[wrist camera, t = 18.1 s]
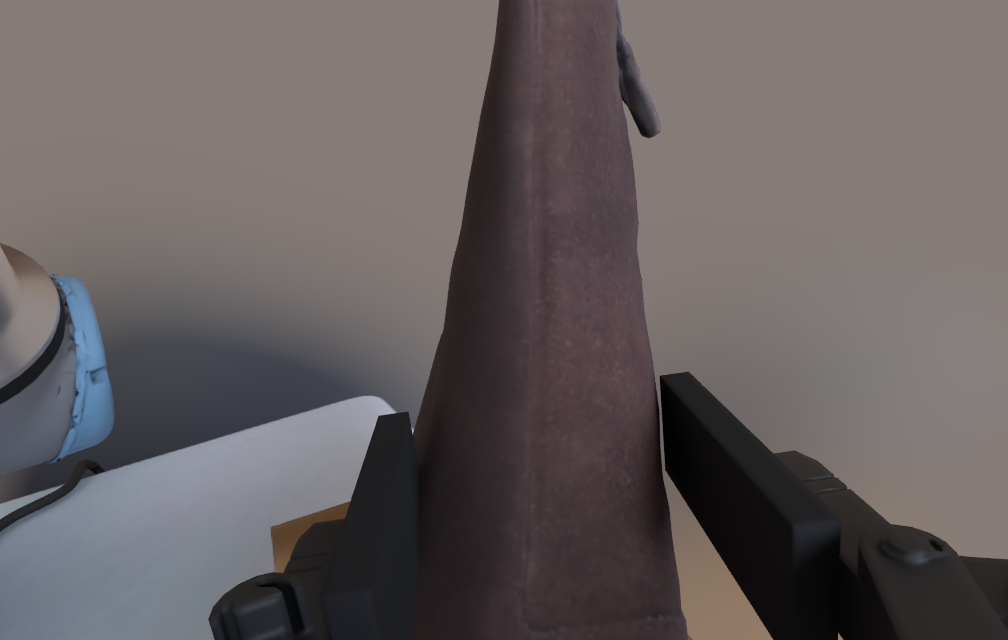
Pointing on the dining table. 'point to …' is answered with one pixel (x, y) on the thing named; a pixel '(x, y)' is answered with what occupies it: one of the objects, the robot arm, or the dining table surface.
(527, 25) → the boot
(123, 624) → the dining table surface
